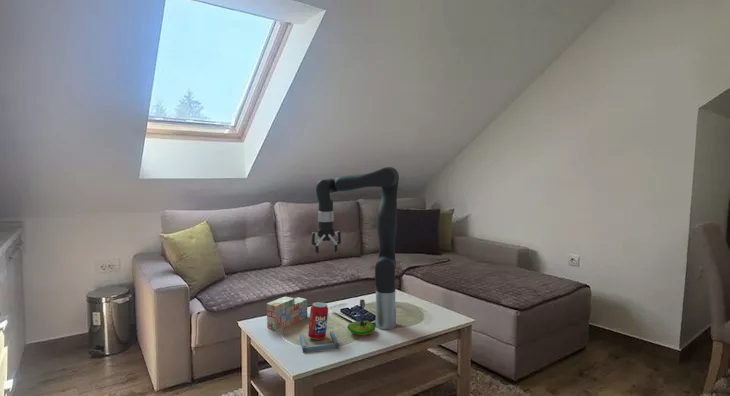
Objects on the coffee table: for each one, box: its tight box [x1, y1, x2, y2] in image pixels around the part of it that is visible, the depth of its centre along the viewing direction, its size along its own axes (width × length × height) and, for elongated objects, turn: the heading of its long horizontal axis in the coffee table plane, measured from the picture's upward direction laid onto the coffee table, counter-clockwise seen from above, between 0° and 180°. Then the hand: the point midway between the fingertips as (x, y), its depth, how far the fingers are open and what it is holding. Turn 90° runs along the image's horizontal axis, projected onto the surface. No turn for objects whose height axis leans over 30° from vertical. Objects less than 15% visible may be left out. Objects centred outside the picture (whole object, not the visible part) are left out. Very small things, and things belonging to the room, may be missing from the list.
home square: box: [299, 330, 340, 353], centre depth 189 cm, size 15×14×2 cm
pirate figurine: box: [346, 299, 376, 336], centre depth 199 cm, size 14×13×15 cm
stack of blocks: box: [266, 296, 308, 332], centre depth 213 cm, size 21×6×12 cm, turn 145°
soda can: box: [307, 301, 329, 341], centre depth 194 cm, size 8×8×15 cm
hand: (326, 252), depth 215 cm, fingers open, 8 cm apart
